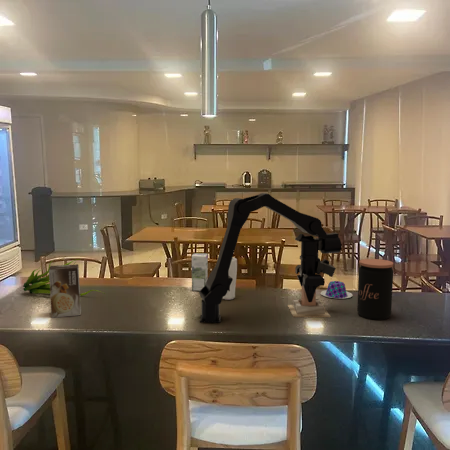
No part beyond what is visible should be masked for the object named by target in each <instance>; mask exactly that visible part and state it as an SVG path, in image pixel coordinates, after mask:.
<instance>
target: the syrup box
mask: <svg viewBox="0 0 450 450" xmlns="http://www.w3.org/2000/svg"><path fill="white" fill-rule="evenodd" d="M208 258H209V255H208V253H202V252H201V253H199V252H198V253H197V252H196V253H192V255H191V291H192V292H199V291H200V290H201V289H202V288H203V287H204V286H205V285H206V282H207V279H208V277H209V276H208V271H209V270H208V268H209V266H208V261H209V259H208Z"/></svg>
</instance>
